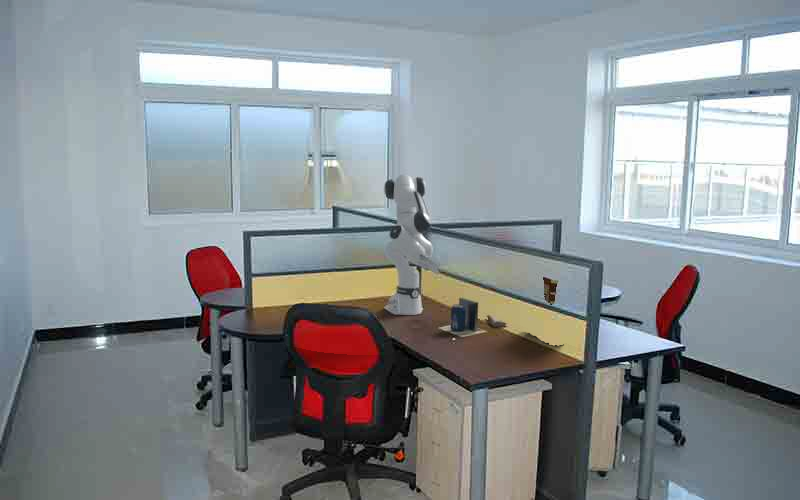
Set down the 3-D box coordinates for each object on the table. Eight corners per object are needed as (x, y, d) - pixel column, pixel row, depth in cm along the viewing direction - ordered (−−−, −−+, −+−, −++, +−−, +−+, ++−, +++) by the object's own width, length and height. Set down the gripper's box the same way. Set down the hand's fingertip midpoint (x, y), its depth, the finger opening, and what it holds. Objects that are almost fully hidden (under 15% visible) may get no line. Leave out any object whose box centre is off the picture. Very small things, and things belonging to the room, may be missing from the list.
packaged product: (482, 313, 321) (501, 312, 322) (482, 322, 322) (501, 322, 323) (490, 322, 303) (510, 322, 304) (490, 332, 304) (510, 331, 305)
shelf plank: (437, 330, 304) (437, 327, 303) (463, 325, 313) (463, 323, 312) (461, 340, 289) (461, 336, 289) (487, 334, 298) (487, 331, 298)
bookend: (458, 326, 307) (459, 297, 305) (465, 324, 309) (466, 296, 307) (474, 331, 297) (475, 302, 295) (482, 330, 300) (482, 301, 298)
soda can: (464, 328, 303) (464, 304, 301) (466, 332, 296) (466, 307, 294) (449, 328, 303) (450, 304, 301) (451, 332, 296) (451, 307, 294)
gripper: (431, 252, 287) (448, 271, 293) (408, 244, 304) (425, 262, 311) (423, 262, 285) (440, 281, 292) (400, 254, 303) (417, 272, 310)
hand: (432, 271), depth 302 cm, fingers open, 8 cm apart
